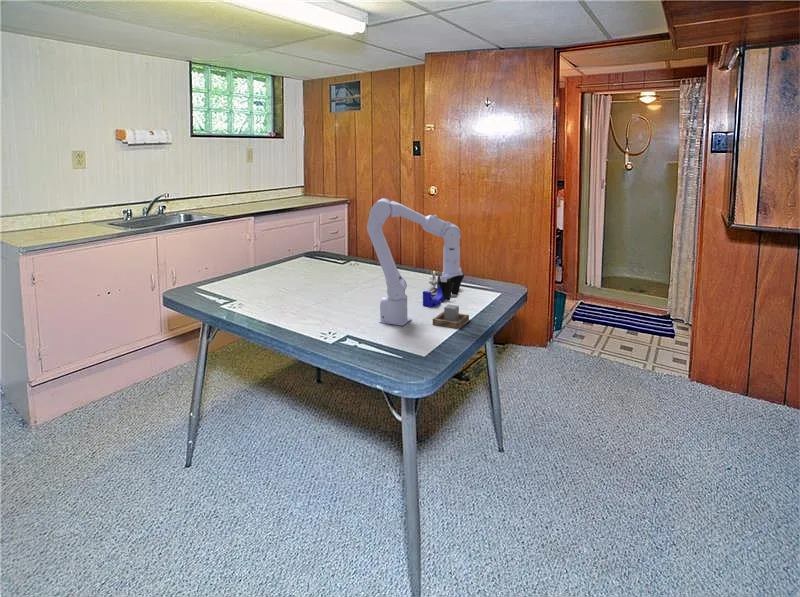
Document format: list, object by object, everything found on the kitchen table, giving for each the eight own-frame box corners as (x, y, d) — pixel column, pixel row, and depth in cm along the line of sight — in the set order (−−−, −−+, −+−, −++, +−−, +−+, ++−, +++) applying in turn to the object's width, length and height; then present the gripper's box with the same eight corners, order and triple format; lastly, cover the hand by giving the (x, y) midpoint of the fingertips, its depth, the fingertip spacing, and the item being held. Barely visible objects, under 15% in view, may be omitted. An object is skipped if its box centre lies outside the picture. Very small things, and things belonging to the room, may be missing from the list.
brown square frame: (432, 324, 190) (432, 319, 189) (443, 316, 199) (443, 311, 198) (459, 328, 186) (459, 323, 185) (468, 320, 194) (469, 314, 194)
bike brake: (429, 285, 238) (422, 305, 221) (429, 271, 235) (422, 290, 218) (459, 287, 236) (455, 307, 218) (460, 272, 233) (456, 292, 215)
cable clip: (432, 308, 209) (432, 293, 208) (422, 306, 212) (422, 291, 210) (448, 301, 218) (449, 286, 217) (439, 299, 221) (439, 285, 219)
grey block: (444, 323, 191) (444, 307, 190) (448, 320, 195) (448, 304, 193) (454, 325, 189) (454, 308, 188) (458, 321, 193) (458, 305, 191)
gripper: (454, 265, 178) (454, 303, 182) (469, 256, 190) (468, 293, 194) (435, 263, 181) (435, 301, 185) (451, 255, 193) (450, 291, 197)
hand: (451, 297), depth 190 cm, fingers open, 7 cm apart
